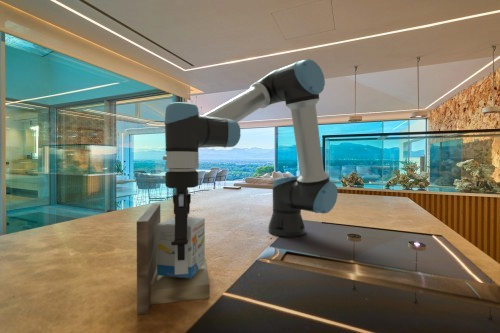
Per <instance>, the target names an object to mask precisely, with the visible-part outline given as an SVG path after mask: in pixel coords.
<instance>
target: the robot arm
mask: <svg viewBox="0 0 500 333" xmlns="http://www.w3.org/2000/svg"><path fill="white" fill-rule="evenodd" d="M325 84H326V81H325V76H324V72H323V70H322V68H321V67H320V65H318V63H317V62H316V61H315V60H313V59H308V58H307V59H303V60H298V61H296V62H293V63H291V64H288V65H286V66H283V67H281V68H278V69H274V70H272V71H270V72H269V73H268V74H266V75H265V76H263V77H261V78H260V79H259V80H257V81H255V82H254V83H252V84H251V85H250V86H249V88H248V89H247V90H246V91H244V92H242V93H240V94H238V95H236V96H235V97H233V98H231V99H229V100H228V101H226V102H224V103H223V104H220V105H218V106H217V107H216V108H214V109H212V110H211V111H209V112H207V113H204V114H203V115H202V114H200V112H199V107H198V105H196V104H193V103H190V102H182V101H181V102H180V101H177V102H171V103H169V104H167V106H166V107H165V114H164V136H165V155H162V160H163V161H165V169H167V170H166V172H165V175H164V177H165V178H164V179H165V181H164V182H165V184H164V185H165V187H166V188H169V189H176V193H174V194H173V196H172V202H173V214H174V217H175V240H174V242H171V245H175V275H178V274H188V240H187V217H189V214H190V207H191V201H192V200H191V197H192V194H191V193H189V189H188V188H190V189H191V188H196V187H198V186H199V172H198V169H199V164H200V163H199V160H200V159H199V155H200V154H199V149H201V148H218V147H220V148H234V147H235V146H237V145H238V143H239V142H240V140H241V127H240V124H239V122H240V121H242V120H244V119H245V118H247V117H248V116H249V115H251V114H253V113H255V112H256V111H258V110H259V109H264V108H267V107H268V106H271V105H273V104H276V103H282V102H285V107H287V108H288V109H290V112H291V118H292V126H293V127H292V128H293V132H294V141H295V148H296V154H297V161H298V167H299V168H298V169H299V174H298V175H297V176H287V177H286V176H283V177H275V178H274V179H273V182H272V183H273V184H272V215H271V217H270V220H269V223H268V233H270V234H271V235H273V236H276V237H282V238H283V237H285V238H288V237H290V238H293V237H294V238H295V237H301V236H304V235H305V234H306V227H305V223H304V220H303V216H302V213H301V211H306V212H312V213H314V214H328V213H329V212H331V211H332V210H333V209H334V207H335V205H336V202H337V199H338V195H339V194H338V186H337V184H336V183H334V182H332V181H330V175H329V174H328V173H327V172H325V168H324V162H323V154H322V147H321V145H322V144H321V136H320V131H319V120H318V112H317V106H316V105H317V104H318V102H319V101H320V94H321V93H322V92H323V91H324V88H325ZM178 238H179V239H178Z"/></svg>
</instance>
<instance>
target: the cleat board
mask: <svg viewBox="0 0 500 333" xmlns="http://www.w3.org/2000/svg"><path fill="white" fill-rule="evenodd" d="M159 223H161V203H152V204H151V205H150V206H149V207H148V208H147V209H146V210H145V211H144V213H143V214H142V215H141V216H140V217H139V218H138V220H137V221H136V315H137V316H139V315H147V314H149V311H150V309H151V305H160V304H168V303H169V304H170V303H179V302H185V301H194V300H202V299H203V300H205V299H210V297H211V296H210V286H211V285H210V284H211V283H210V278H209V270H208V264H207V259H205V264H204V265H203V266H202V267H201V268H200V269H199V270H198V271H197V273H196V274H195V275H194V276H193V277H192V278H180V277H170V276H161V275H157V227H158V224H159Z"/></svg>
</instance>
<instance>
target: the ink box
mask: <svg viewBox="0 0 500 333" xmlns="http://www.w3.org/2000/svg"><path fill="white" fill-rule="evenodd" d="M205 222H206V218H205V217H194V216H193V217H192V216H188V217H187V240H188V274H178V275H175V245H171V242H174V240H175V216H174V217H172V218H169V219H167V220H164V221H162V222H160V223H159V224H158V227H157V275H161V276H170V277H180V278H192V277H193V276H194V275H195V274H196V273H197V271H198V270H199V269H200V268H201V267H202V266H203V265H204V264H205V258H206V257H205V256H206V255H205V254H206V252H205V251H206V250H205V248H206V246H205V245H206V244H205V242H206V240H205V239H206V238H205V235H206V234H205V233H206V232H205V228H206V226H205V224H206V223H205ZM178 239H179V238H178Z"/></svg>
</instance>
